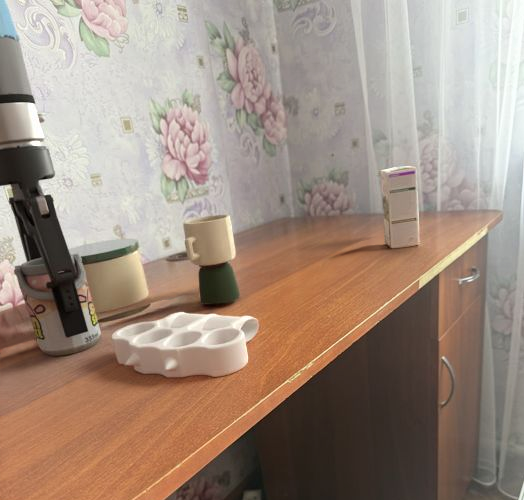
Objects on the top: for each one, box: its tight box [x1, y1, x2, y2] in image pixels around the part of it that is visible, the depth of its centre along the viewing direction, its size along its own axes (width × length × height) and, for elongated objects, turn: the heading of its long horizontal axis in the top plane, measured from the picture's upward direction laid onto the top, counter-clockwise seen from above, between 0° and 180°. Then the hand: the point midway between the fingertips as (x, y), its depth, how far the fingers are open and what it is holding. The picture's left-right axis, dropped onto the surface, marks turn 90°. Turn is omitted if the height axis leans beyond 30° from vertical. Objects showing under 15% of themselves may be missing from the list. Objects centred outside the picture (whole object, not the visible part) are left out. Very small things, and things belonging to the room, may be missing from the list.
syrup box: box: [380, 165, 420, 249], centre depth 96 cm, size 6×6×14 cm
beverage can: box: [13, 253, 101, 357], centre depth 66 cm, size 9×8×12 cm
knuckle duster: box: [110, 311, 260, 379], centre depth 59 cm, size 3×18×15 cm
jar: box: [68, 238, 151, 324], centre depth 81 cm, size 13×13×10 cm
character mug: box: [182, 214, 241, 306], centre depth 76 cm, size 11×7×13 cm, turn 148°
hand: (67, 325), depth 67 cm, fingers closed on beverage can, 9 cm apart
